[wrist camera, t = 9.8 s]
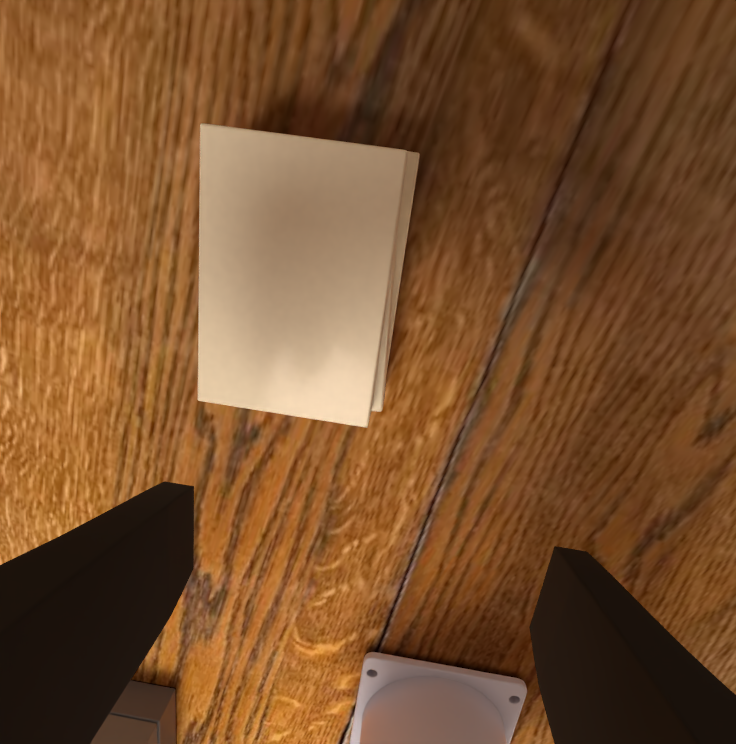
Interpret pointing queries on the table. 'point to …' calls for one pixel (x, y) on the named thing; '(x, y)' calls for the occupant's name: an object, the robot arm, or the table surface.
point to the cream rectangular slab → (294, 270)
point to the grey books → (140, 717)
